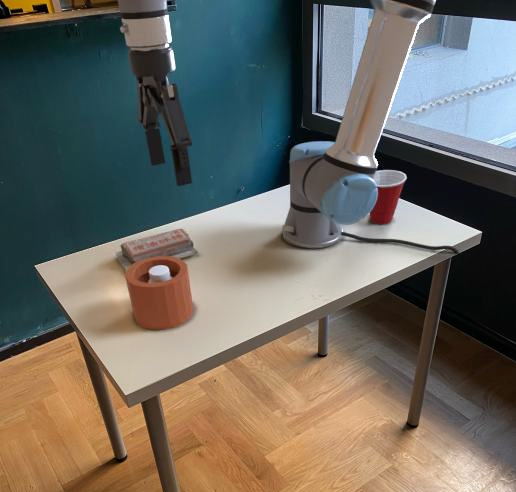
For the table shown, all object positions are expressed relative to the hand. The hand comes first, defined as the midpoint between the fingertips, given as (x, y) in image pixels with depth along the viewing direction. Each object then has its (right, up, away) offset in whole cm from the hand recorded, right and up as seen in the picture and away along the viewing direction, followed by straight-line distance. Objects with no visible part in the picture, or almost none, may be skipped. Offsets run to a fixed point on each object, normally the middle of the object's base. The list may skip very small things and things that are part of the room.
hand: (170, 173), depth 98 cm
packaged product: (-8, -11, +29) cm, 32 cm away
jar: (-3, -26, +9) cm, 28 cm away
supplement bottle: (-2, -26, +9) cm, 27 cm away
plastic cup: (+50, +1, +41) cm, 64 cm away
